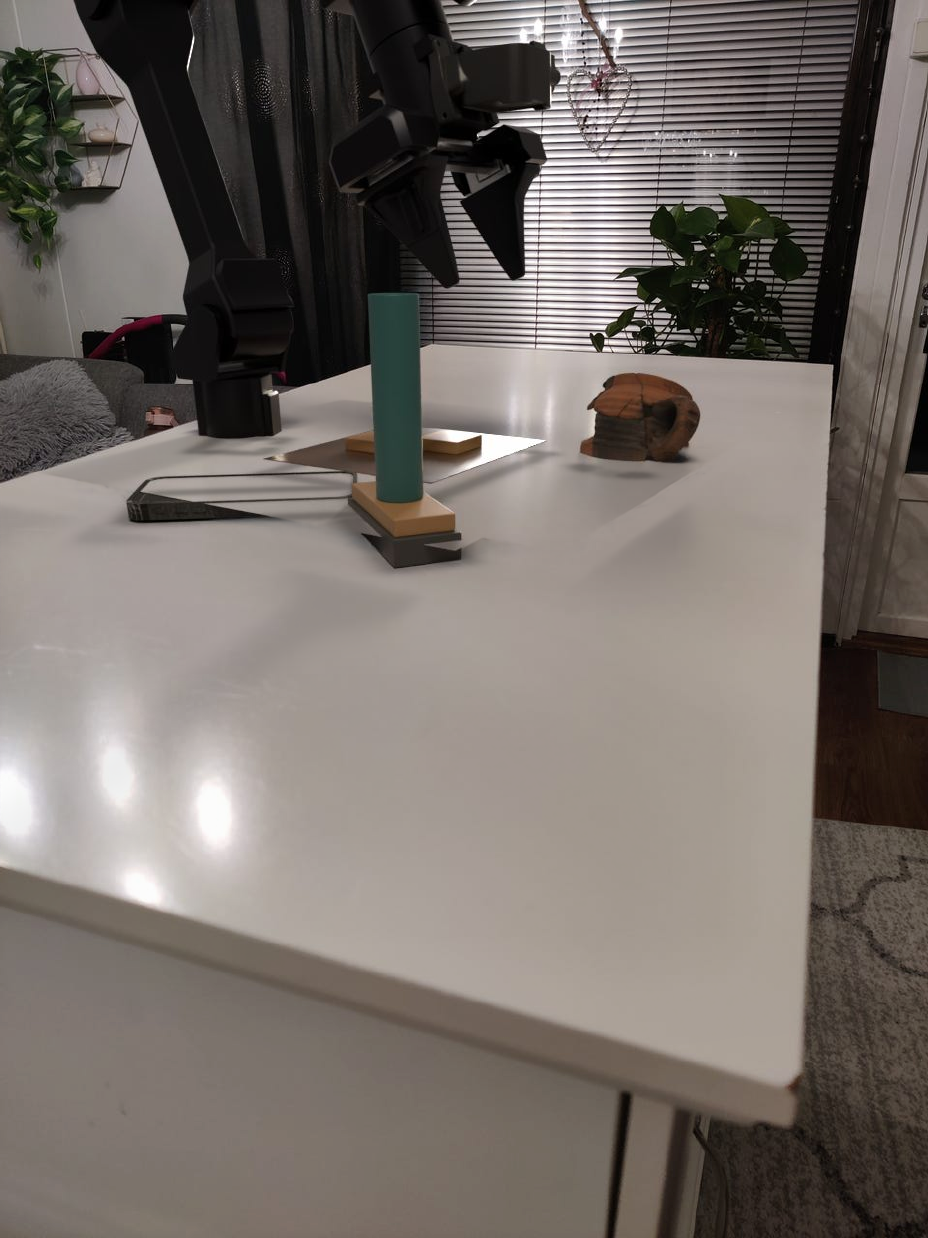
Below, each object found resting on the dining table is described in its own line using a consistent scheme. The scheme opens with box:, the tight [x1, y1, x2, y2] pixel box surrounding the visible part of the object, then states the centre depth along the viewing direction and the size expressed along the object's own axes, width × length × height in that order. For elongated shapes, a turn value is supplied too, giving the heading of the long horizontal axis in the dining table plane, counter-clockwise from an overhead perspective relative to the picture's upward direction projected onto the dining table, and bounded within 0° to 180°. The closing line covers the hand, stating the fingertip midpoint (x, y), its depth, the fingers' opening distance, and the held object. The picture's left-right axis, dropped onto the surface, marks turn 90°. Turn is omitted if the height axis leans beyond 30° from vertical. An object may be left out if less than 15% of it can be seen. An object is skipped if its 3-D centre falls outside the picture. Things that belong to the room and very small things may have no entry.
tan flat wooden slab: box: [422, 429, 483, 455], centre depth 72 cm, size 4×4×1 cm
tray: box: [263, 426, 547, 485], centre depth 73 cm, size 16×18×1 cm
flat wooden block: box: [344, 430, 375, 453], centre depth 73 cm, size 4×4×1 cm
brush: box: [347, 292, 463, 568], centre depth 50 cm, size 10×4×14 cm, turn 21°
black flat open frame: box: [125, 470, 358, 521], centre depth 61 cm, size 8×1×15 cm
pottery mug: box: [579, 372, 701, 462], centre depth 71 cm, size 12×10×8 cm
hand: (487, 282), depth 61 cm, fingers open, 9 cm apart
